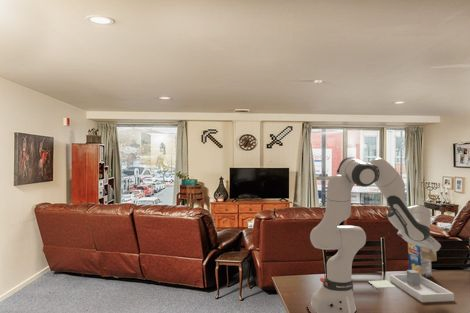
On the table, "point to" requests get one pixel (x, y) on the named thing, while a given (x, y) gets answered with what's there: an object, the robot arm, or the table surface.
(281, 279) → the table surface
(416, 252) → the beverage box
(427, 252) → the banded box
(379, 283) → the sage board
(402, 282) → the bin
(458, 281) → the table surface
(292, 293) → the table surface
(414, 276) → the grey box
